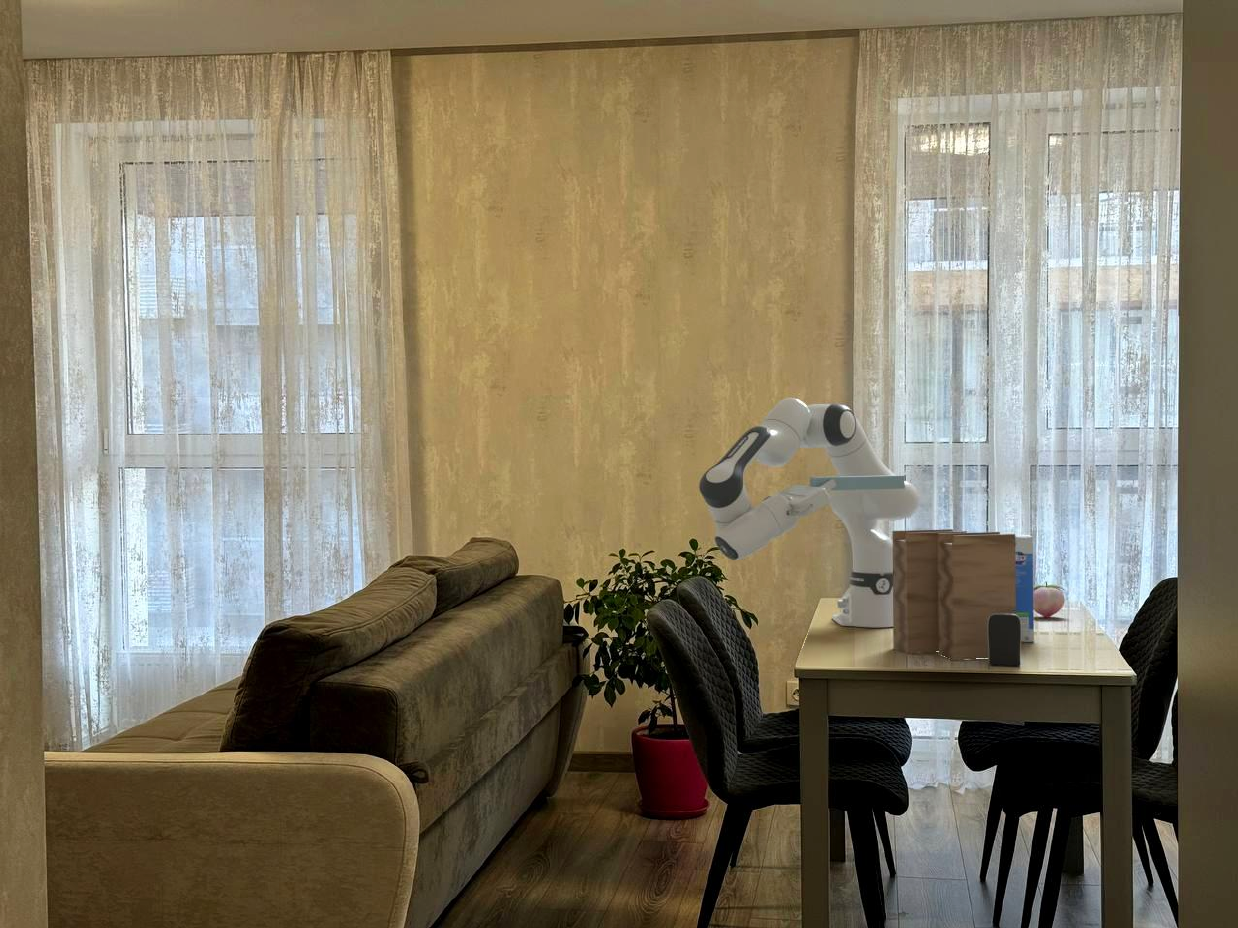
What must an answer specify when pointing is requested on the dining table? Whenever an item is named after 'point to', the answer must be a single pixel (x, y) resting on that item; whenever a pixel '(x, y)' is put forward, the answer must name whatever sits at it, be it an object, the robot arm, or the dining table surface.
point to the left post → (916, 590)
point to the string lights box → (1024, 585)
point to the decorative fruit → (1047, 599)
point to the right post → (973, 589)
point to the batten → (862, 482)
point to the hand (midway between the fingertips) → (830, 481)
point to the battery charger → (1004, 639)
